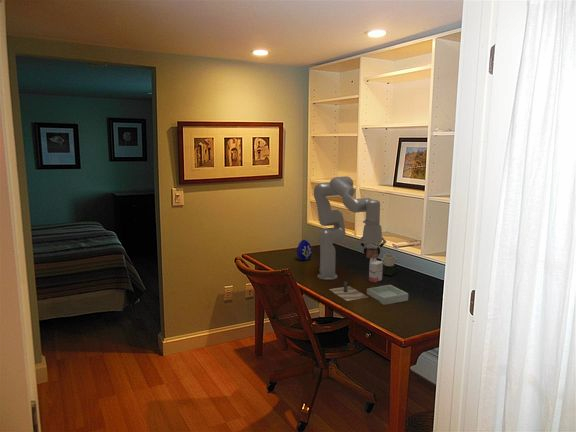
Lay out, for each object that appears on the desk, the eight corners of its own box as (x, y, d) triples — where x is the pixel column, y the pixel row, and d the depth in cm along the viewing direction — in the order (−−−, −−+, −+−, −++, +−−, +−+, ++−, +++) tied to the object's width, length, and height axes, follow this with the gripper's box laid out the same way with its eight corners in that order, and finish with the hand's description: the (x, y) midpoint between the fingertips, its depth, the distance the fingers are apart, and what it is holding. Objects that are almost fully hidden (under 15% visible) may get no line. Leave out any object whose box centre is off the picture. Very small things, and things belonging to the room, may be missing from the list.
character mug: (392, 272, 296) (393, 253, 293) (398, 275, 289) (399, 256, 287) (378, 274, 292) (378, 254, 290) (383, 277, 286) (384, 257, 283)
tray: (366, 295, 254) (366, 288, 253) (390, 291, 260) (390, 284, 259) (383, 305, 239) (384, 297, 239) (408, 300, 246) (408, 293, 245)
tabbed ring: (366, 257, 246) (366, 250, 245) (365, 253, 254) (365, 247, 253) (377, 258, 245) (377, 250, 244) (376, 254, 253) (376, 247, 253)
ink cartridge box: (375, 283, 275) (376, 259, 272) (368, 281, 278) (369, 258, 275) (382, 279, 281) (383, 256, 279) (375, 278, 284) (376, 255, 282)
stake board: (328, 291, 261) (328, 280, 260) (349, 287, 266) (349, 277, 265) (346, 302, 243) (347, 291, 242) (368, 298, 248) (369, 287, 247)
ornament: (300, 262, 319) (300, 241, 316) (294, 259, 327) (294, 239, 324) (313, 260, 324) (314, 240, 322) (307, 257, 332) (307, 237, 329)
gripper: (356, 223, 242) (356, 256, 245) (389, 224, 241) (388, 257, 244) (356, 221, 250) (355, 253, 253) (387, 221, 248) (386, 253, 251)
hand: (371, 254), depth 248 cm, fingers closed on tabbed ring, 5 cm apart
